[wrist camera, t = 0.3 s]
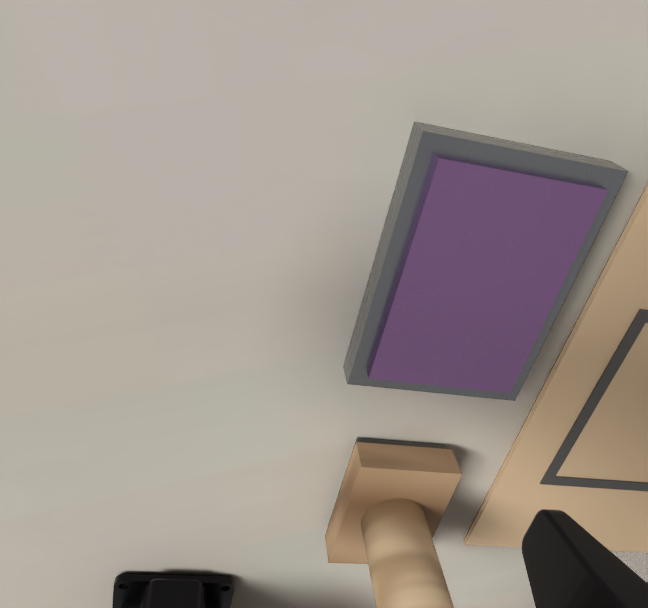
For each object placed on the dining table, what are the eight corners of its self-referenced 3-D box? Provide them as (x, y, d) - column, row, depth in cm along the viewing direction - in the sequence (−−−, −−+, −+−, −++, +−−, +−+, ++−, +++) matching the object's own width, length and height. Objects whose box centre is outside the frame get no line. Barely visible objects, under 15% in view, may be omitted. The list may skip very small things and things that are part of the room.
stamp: (409, 530, 33) (452, 687, 26) (323, 526, 32) (345, 688, 25) (448, 440, 29) (510, 593, 22) (353, 433, 28) (388, 590, 21)
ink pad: (505, 383, 28) (518, 406, 26) (343, 366, 26) (348, 390, 25) (610, 161, 22) (634, 174, 21) (414, 121, 20) (426, 133, 19)
